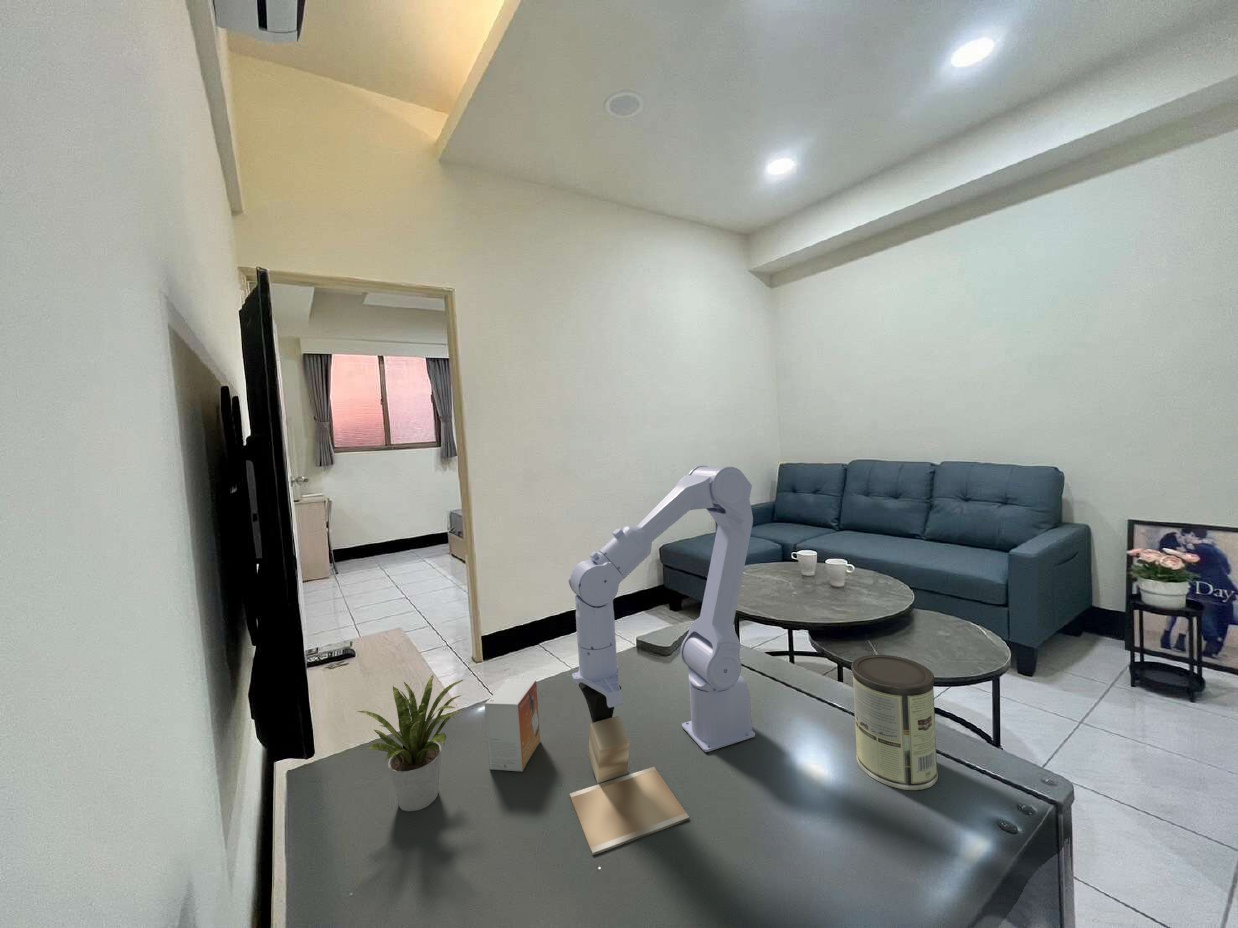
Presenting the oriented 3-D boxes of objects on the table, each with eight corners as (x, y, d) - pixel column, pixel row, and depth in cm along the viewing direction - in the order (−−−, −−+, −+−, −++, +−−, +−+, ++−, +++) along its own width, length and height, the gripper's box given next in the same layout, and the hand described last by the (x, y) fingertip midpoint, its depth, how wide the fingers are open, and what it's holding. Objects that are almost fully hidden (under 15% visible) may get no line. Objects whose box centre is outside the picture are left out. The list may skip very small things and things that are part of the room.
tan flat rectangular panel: (654, 768, 72) (654, 766, 72) (689, 819, 62) (689, 817, 62) (569, 795, 68) (569, 793, 68) (592, 855, 58) (592, 852, 58)
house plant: (498, 772, 74) (490, 667, 73) (436, 846, 60) (426, 718, 60) (422, 758, 78) (414, 658, 78) (349, 823, 65) (339, 704, 64)
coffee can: (867, 735, 77) (863, 648, 76) (944, 761, 70) (941, 665, 69) (845, 769, 70) (841, 673, 69) (929, 802, 62) (925, 695, 62)
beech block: (616, 749, 75) (618, 715, 73) (626, 775, 71) (630, 741, 69) (588, 757, 73) (590, 723, 71) (597, 785, 70) (599, 750, 67)
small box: (522, 773, 73) (517, 705, 73) (488, 770, 74) (483, 703, 74) (541, 740, 81) (537, 679, 81) (510, 738, 82) (505, 677, 82)
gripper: (559, 630, 78) (564, 712, 79) (584, 667, 64) (591, 766, 65) (600, 622, 81) (606, 702, 81) (633, 656, 67) (639, 751, 67)
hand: (602, 730), depth 73 cm, fingers closed
